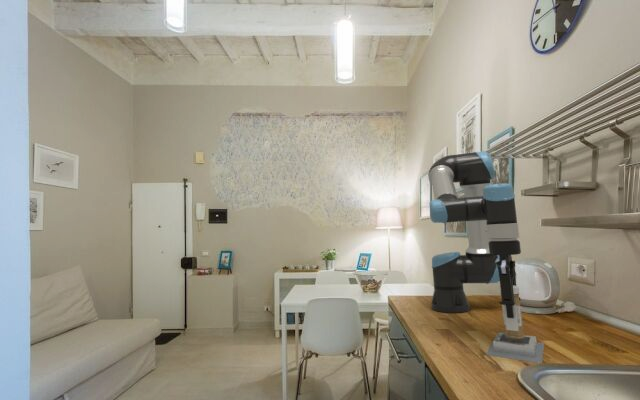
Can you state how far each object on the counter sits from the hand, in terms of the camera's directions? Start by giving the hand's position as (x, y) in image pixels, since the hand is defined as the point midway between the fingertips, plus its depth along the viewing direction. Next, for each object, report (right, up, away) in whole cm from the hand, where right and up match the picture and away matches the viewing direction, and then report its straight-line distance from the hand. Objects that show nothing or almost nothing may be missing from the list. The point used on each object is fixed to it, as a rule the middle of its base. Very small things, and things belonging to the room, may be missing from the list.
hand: (513, 327), depth 87 cm
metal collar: (0, -5, -1) cm, 5 cm away
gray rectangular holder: (0, -6, -1) cm, 6 cm away
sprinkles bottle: (0, -3, 0) cm, 3 cm away
